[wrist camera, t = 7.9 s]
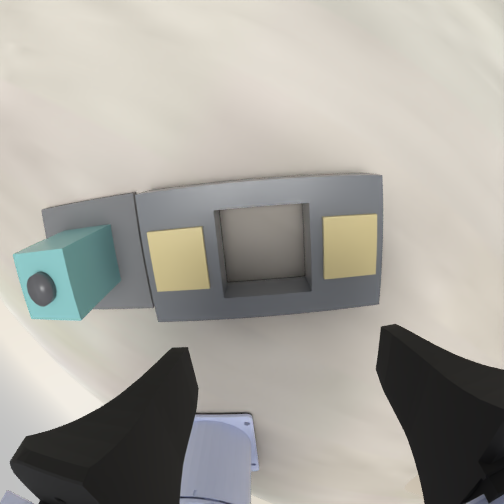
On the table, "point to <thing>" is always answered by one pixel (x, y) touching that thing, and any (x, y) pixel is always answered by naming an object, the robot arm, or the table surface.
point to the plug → (68, 273)
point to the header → (272, 290)
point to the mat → (125, 242)
